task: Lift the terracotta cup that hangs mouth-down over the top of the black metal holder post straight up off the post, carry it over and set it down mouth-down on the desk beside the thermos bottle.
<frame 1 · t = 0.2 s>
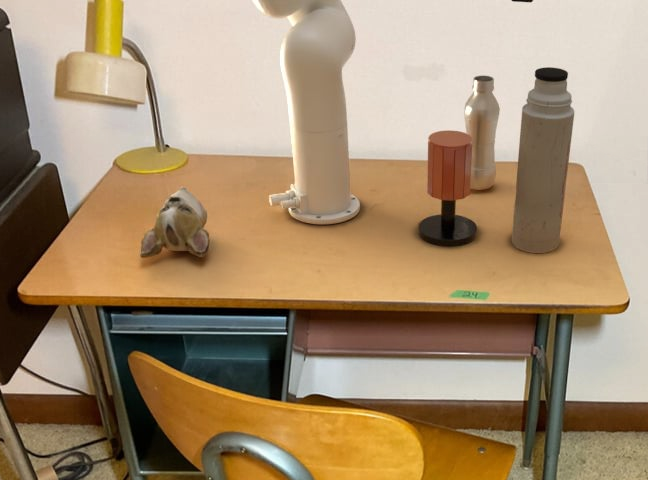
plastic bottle: (478, 188, 160), on the table
thermos bottle: (535, 243, 142), on the table
ceramic sculpture: (182, 247, 138), on the table
holder: (447, 233, 144), on the table
cup: (448, 191, 140), point 7 cm above the table, touching holder
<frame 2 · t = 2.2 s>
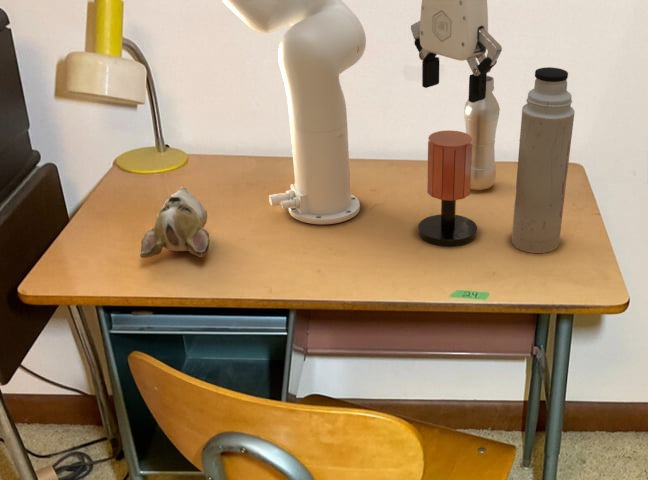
hand: (453, 92, 130), 24 cm above the table, tool pointing down, fingers open, 9 cm apart
nothing on the table moved.
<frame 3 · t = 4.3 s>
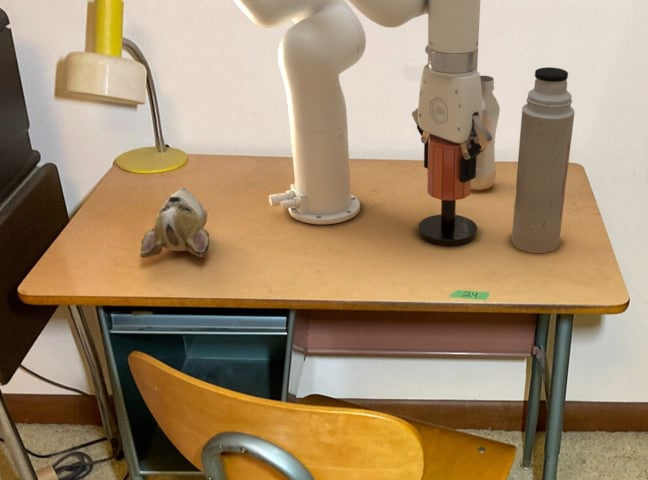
hand: (449, 172, 138), 11 cm above the table, tool pointing down, fingers closed on cup, 7 cm apart
cup: (448, 191, 140), point 8 cm above the table, touching gripper, holder
everything else where it was.
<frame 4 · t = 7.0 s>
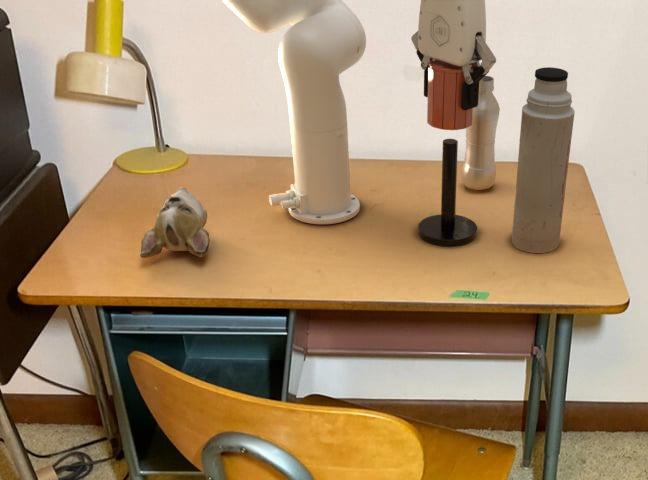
hand: (450, 100, 131), 22 cm above the table, tool pointing down, fingers closed on cup, 7 cm apart
cup: (449, 122, 133), point 19 cm above the table, touching gripper
everything else where it was.
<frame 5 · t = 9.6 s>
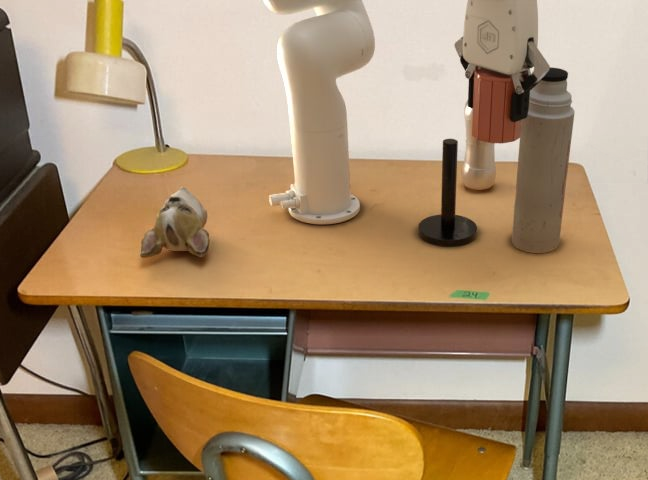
hand: (497, 111, 121), 24 cm above the table, tool pointing down, fingers closed on cup, 7 cm apart
cup: (496, 134, 123), point 21 cm above the table, touching gripper
everything else where it was.
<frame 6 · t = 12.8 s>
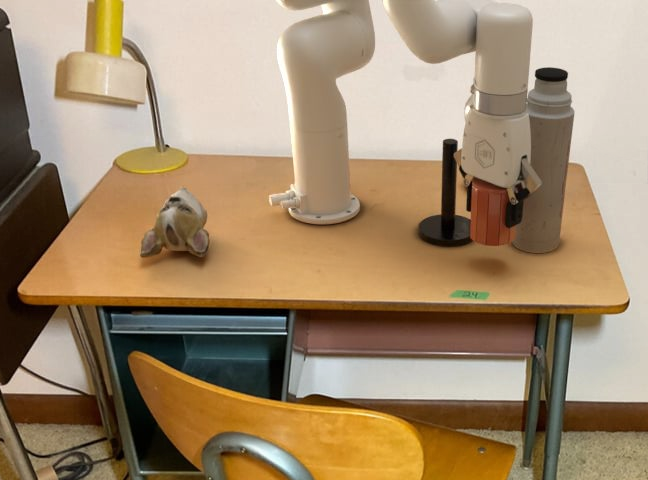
hand: (493, 216, 130), 9 cm above the table, tool pointing down, fingers closed on cup, 7 cm apart
cup: (492, 235, 132), point 5 cm above the table, touching gripper
everything else where it was.
when the fingers open (3 cm above the table, at t = 14.7 s): cup stays where it is, on the table.
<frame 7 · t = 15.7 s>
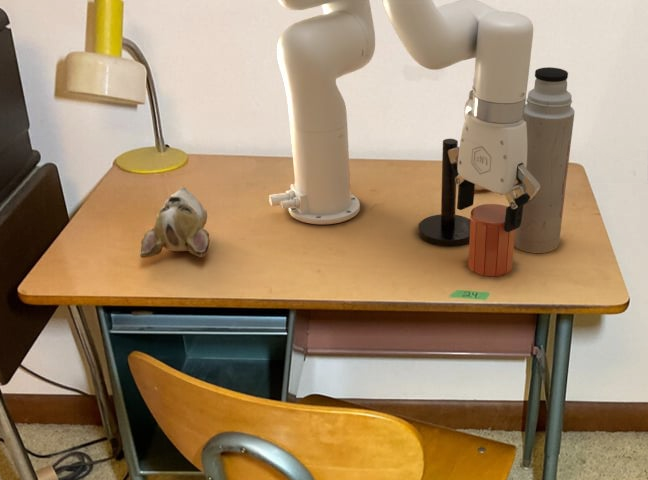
hand: (488, 218, 131), 8 cm above the table, tool pointing down, fingers open, 9 cm apart
cup: (490, 265, 135), on the table, touching gripper
everything else where it was.
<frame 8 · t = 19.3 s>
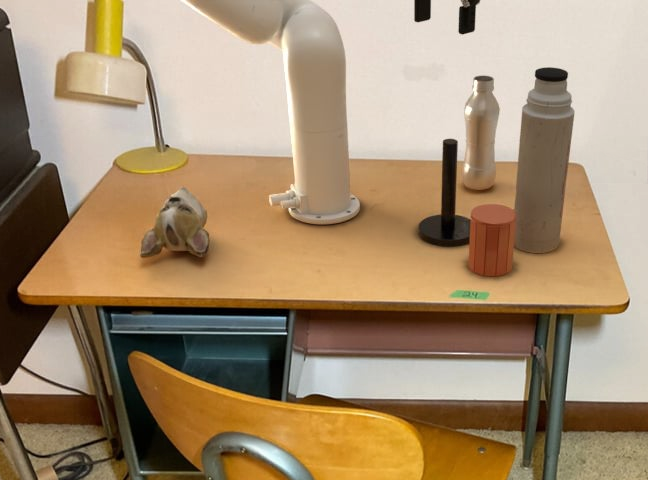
hand: (444, 26, 135), 30 cm above the table, tool pointing down, fingers open, 9 cm apart
cup: (490, 265, 135), on the table
everything else where it was.
at the end: cup inside the target area (0.2 cm from its centre), on the table; cup 11.7 cm from the thermos bottle (horizontally); cup tilted 0° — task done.
